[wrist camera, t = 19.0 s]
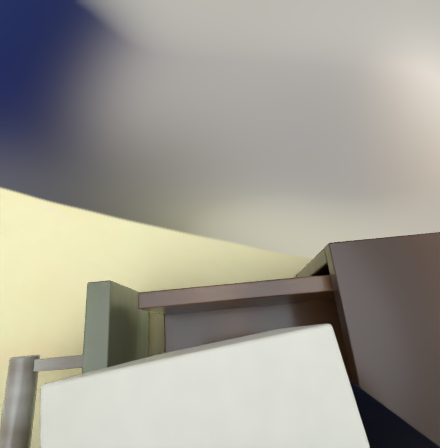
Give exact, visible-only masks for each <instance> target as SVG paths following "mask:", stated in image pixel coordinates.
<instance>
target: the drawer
mask: <svg viewBox="0 0 440 448" xmlns="http://www.w3.org/2000/svg"><path fill="white" fill-rule="evenodd" d="M148 311H150V312H154V313H158V314H163V315H164V334H165V353H167V352H172V351H177V350H182V349H186V348H191V347H196V346H200V345H205V344H210V343H214V342H219V341H224V340H229V339H233V338H238V337H243V336H247V335H252V334H257V333H261V332H266V331H271V330H275V329H282V328H291V327H300V326H309V325H318V324H331V326H332V327H333V330H334V333H335V336H336V340H337V343H338V346H339V349H340V352H341V356H342V359H343V362H344V365H345V368H346V372H347V375H348V378H349V380H351V381H352V377H351V373H350V368H349V363H348V358H347V353H346V348H345V344H344V339H343V334H342V329H341V324H340V320H339V315H338V310H337V305H336V300H335V296H334V291H333V286H332V281H331V276H330V275H320V276H310V277H299V278H289V279H278V280H267V281H257V282H246V283H235V284H225V285H214V286H204V287H193V288H182V289H172V290H161V291H151V292H137V291H135V290H132V289H130V288H127V287H125V286H123V285H120V284H118V283H115V282H113V281H99V282H89V283H88V284H87V299H86V315H85V331H84V347H83V355H76V356H65V357H54V358H43V359H40V355H31V356H21V357H12V358H10V360H9V367H8V375H7V382H6V389H5V397H4V404H3V411H2V419H1V426H0V448H30V447H31V437H32V428H33V418H34V409H35V399H36V390H37V380H38V371H49V370H60V369H71V368H82V374H84V373H88V372H92V371H96V370H99V369H103V368H107V367H111V366H115V365H119V364H123V363H127V362H130V361H134V360H138V359H142V358H146V357H149V320H148Z"/></svg>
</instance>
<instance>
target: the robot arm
mask: <svg viewBox="0 0 440 448" xmlns="http://www.w3.org/2000/svg"><path fill="white" fill-rule="evenodd" d="M349 381H350V384H351V388H352V391H353V394H354V397H355V401H356V404H357V407H358V410H359V413H360V417H361V420H362V423H363V426H364V429H365V433H366V436H367V439H368V442H369V446H370V448H440V446H438V445H437V444H436V443H434V442H433V441H431V440H430V439H429V438H427V437H426V436H425V435H423V434H422V433H421V432H419V431H418V430H417V429H415V428H414V427H413V426H411V425H410V424H409V423H407V422H406V421H405V420H403V419H402V418H400V417H399V416H398V415H396V414H395V413H394V412H392V411H391V410H390V409H388V408H387V407H386V406H384V405H383V404H382V403H380V402H379V401H378V400H376V399H375V398H374V397H372V396H371V395H369V394H368V393H367V392H365V391H364V390H363V389H361V388H360V387H359V386H357V385H356V384H355V383H353V382H352V381H351V380H349Z"/></svg>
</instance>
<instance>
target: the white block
mask: <svg viewBox="0 0 440 448" xmlns="http://www.w3.org/2000/svg"><path fill="white" fill-rule="evenodd" d="M40 448H370V446H369V442H368V439H367V436H366V433H365V429H364V426H363V423H362V420H361V417H360V413H359V410H358V407H357V404H356V401H355V397H354V394H353V391H352V388H351V384H350V381H349V378H348V375H347V372H346V368H345V365H344V362H343V359H342V356H341V352H340V349H339V346H338V343H337V340H336V336H335V333H334V330H333V327H332V326H331V324H318V325H309V326H300V327H291V328H282V329H275V330H271V331H266V332H261V333H257V334H252V335H247V336H243V337H238V338H233V339H229V340H224V341H219V342H214V343H210V344H205V345H200V346H196V347H191V348H186V349H182V350H177V351H172V352H167V353H163V354H158V355H154V356H150V357H146V358H142V359H138V360H134V361H130V362H127V363H123V364H119V365H115V366H111V367H107V368H103V369H99V370H96V371H92V372H88V373H84V374H80V375H76V376H72V377H69V378H65V379H61V380H57V381H53V382H49V383H45V384H44V385H42V386H41V389H40Z"/></svg>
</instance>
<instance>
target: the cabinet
mask: <svg viewBox="0 0 440 448" xmlns="http://www.w3.org/2000/svg"><path fill="white" fill-rule="evenodd" d="M320 275H330V276H331V281H332V286H333V291H334V296H335V300H336V305H337V310H338V315H339V320H340V324H341V329H342V334H343V339H344V344H345V348H346V353H347V358H348V363H349V368H350V373H351V377H352V382H353V383H355V384H356V385H357V386H359V387H360V388H361V389H363V390H364V391H365V392H367V393H368V394H369V395H371V396H372V397H374V398H375V399H376V400H378V401H379V402H380V403H382V404H383V405H384V406H386V407H387V408H388V409H390V410H391V411H392V412H394V413H395V414H396V415H398V416H399V417H400V418H402V419H403V420H405V421H406V422H407V423H409V424H410V425H411V426H413V427H414V428H415V429H417V430H418V431H419V432H421V433H422V434H423V435H425V436H426V437H427V438H429V439H430V440H431V441H433V442H434V443H436V444H437V445H438V446H440V232H438V233H428V234H417V235H408V236H396V237H386V238H376V239H365V240H355V241H345V242H334V243H329V244H328V245H327V246H326V247H325V248H324V249H323V250H322V251H321V252H320V253H319V254H318V255H317V256H316V257H315V258H314V259H313V260H312V261H310V262H309V263H308V264H307V265H306V266H305V267H304V268H303V269H302V270H301V271H300V272H299V273H298V274H297V275H296V278H299V277H310V276H320Z"/></svg>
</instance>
